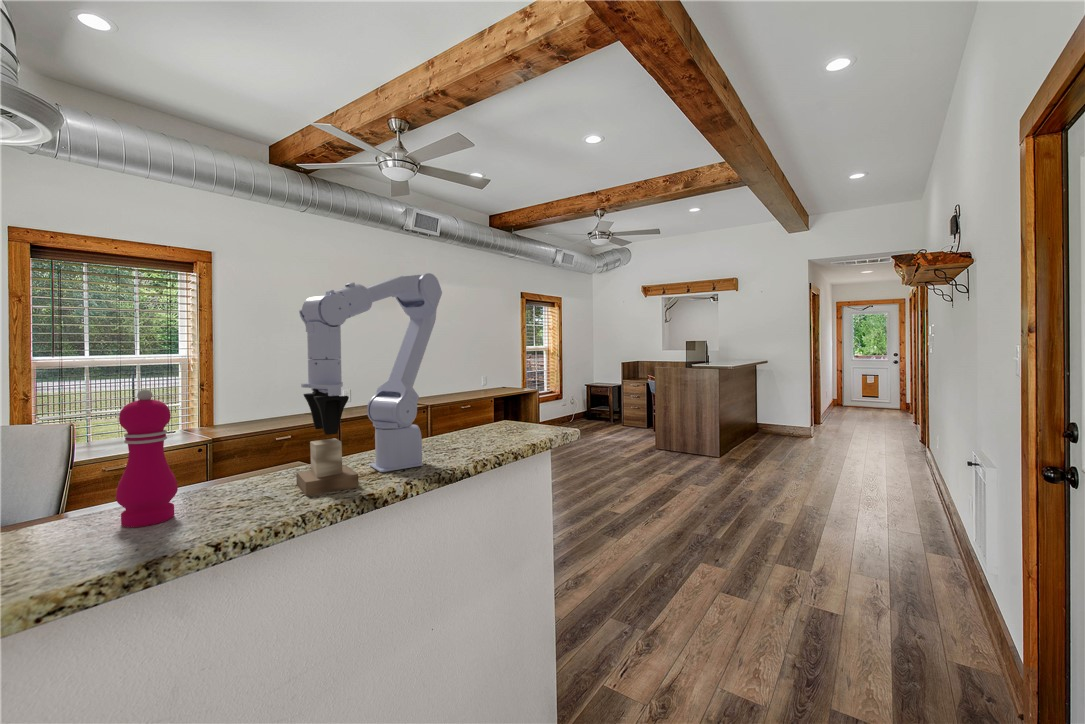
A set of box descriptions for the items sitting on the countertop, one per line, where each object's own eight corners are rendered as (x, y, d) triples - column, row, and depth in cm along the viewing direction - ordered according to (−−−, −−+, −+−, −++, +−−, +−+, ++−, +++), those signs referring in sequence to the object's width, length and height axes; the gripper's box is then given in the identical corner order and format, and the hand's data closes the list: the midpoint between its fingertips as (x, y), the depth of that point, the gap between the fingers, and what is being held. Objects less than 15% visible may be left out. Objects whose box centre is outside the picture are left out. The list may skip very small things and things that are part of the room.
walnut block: (345, 479, 96) (345, 464, 96) (358, 489, 89) (358, 474, 89) (296, 487, 91) (296, 472, 91) (305, 499, 84) (305, 482, 84)
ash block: (336, 468, 93) (335, 438, 93) (342, 473, 89) (341, 441, 89) (311, 472, 90) (310, 441, 90) (316, 477, 87) (315, 445, 86)
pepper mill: (146, 511, 76) (142, 387, 75) (190, 512, 76) (186, 387, 75) (102, 529, 69) (98, 391, 68) (151, 529, 69) (147, 391, 68)
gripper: (293, 359, 93) (295, 428, 93) (309, 360, 81) (311, 439, 82) (332, 358, 97) (333, 424, 97) (352, 359, 85) (353, 434, 86)
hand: (326, 431), depth 90 cm, fingers open, 7 cm apart
